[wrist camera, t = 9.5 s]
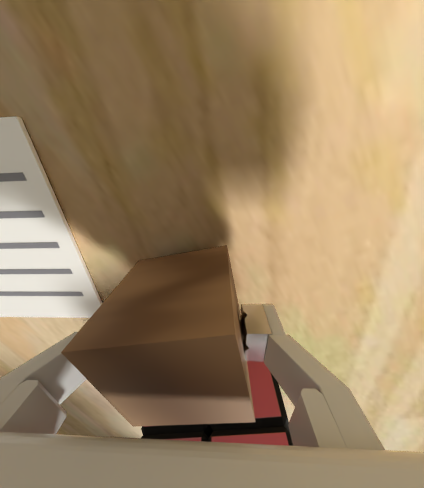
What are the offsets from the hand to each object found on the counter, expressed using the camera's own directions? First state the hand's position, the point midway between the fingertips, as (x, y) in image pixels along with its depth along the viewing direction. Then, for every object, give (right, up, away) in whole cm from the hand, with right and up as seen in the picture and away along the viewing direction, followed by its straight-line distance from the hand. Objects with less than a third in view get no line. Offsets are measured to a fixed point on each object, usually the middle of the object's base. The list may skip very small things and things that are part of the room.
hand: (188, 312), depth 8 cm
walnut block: (0, +1, +1) cm, 2 cm away
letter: (-13, +3, +2) cm, 14 cm away
